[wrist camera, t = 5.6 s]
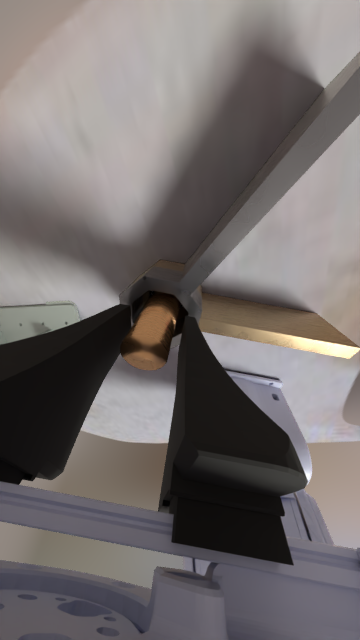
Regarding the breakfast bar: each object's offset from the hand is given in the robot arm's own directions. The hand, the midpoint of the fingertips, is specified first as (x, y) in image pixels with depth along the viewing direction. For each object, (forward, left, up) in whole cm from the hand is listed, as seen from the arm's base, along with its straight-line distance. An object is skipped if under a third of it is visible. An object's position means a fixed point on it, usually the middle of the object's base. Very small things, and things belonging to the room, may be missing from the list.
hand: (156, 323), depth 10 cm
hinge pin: (0, 0, -5) cm, 5 cm away
